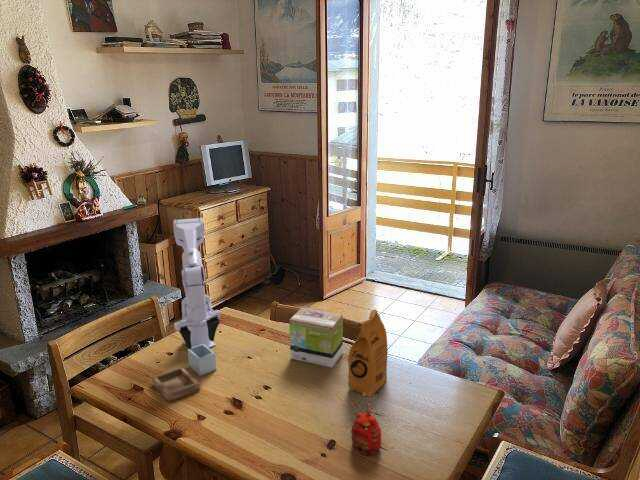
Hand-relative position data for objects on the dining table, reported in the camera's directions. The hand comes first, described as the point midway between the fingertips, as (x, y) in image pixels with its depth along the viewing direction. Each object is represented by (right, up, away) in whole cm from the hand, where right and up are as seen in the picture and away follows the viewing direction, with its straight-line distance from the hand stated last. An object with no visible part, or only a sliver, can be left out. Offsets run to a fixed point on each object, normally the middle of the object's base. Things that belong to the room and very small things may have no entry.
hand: (200, 344), depth 163 cm
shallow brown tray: (-5, -11, -8) cm, 15 cm away
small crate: (0, -8, +3) cm, 9 cm away
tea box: (+36, -6, +8) cm, 38 cm away
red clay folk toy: (+49, -19, -34) cm, 62 cm away
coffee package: (+52, -10, -8) cm, 53 cm away
